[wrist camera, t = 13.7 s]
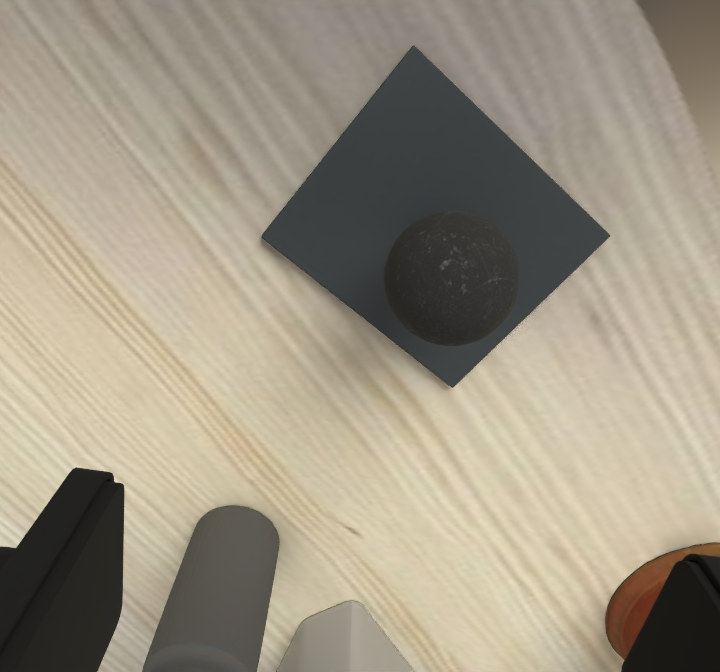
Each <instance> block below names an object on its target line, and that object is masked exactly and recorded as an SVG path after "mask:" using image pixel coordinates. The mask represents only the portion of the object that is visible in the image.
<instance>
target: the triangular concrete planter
mask: <svg viewBox="0 0 720 672" xmlns="http://www.w3.org/2000/svg"><path fill="white" fill-rule="evenodd" d="M277 672H414V671H413V670H412V668H411V667H410V666H409V664H408V663H407V662H406V661H405V659H404V658H403V657H402V655H401V654H400V653H399V651H398V650H397V649H396V648H395V646H394V645H393V644H392V642H391V641H390V640H389V639H388V637H387V636H386V635H385V633H384V632H383V631H382V630H381V628H380V627H379V626H378V624H377V623H376V622H375V621H374V619H373V618H372V617H371V615H370V614H369V613H368V612H367V610H366V609H365V608H364V606H363V605H362V604H360V603H359V602H356V601H348V602H344V603H342V604H339V605H337V606H335V607H332V608H330V609H327V610H325V611H323V612H320V613H318V614H315V615H313V616H311V617H309V618H307V619H305V620H304V621H303V622H302V623H301V624H300V626H299V628H298V630H297V632H296V634H295V636H294V638H293V640H292V642H291V644H290V646H289V648H288V650H287V652H286V654H285V656H284V658H283V660H282V662H281V664H280V666H279V668H278V670H277Z"/></svg>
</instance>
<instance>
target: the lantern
mask: <svg viewBox="0 0 720 672" xmlns="http://www.w3.org/2000/svg"><path fill="white" fill-rule="evenodd" d="M688 554H701V555H708V556H716V557H720V543H709V544H705V545H704V546H703V545H701V544H700V545H694V546H691V547H689V548H684V549H680V550H677V551H673V552H670V553H668V554H665V555H663V556H660V557H658V558H657V559H655V560H654V561H650V562H648V563H646V564H645V565H644V566H642V567H641V568H640V569H638V570H637V571H636V572H634V573H633V574H632V575H631V576H630V577H629V578H627V579H626V580H625V581H624V582H623V584H622V585H621V586H620V587H619V588H618V589H617V591H616V593H615V594H614V596H613V597H612V599H611V601H610V603H609V605H608V610H607V614H606V634H607V637H608V640H609V642H610V643H611V645H612V647H613V649H614V650H615V651H616V652H617V653H618V654H619V655H620V656H621V657H622V658H623V659H624V660H625V659H626V657H627V655H628V653H629V651H630V650H631V648H632V646H633V644H634V642H635V640H636V638H637V636H638V634H639V632H640V630H641V628H642V626H643V624H644V622H645V620H646V618H647V617H648V615H649V613H650V611H651V609H652V607H653V605H654V603H655V601H656V599H657V597H658V595H659V593H660V591H661V589H662V587H663V586H664V584H665V582H666V580H667V578H668V576H669V574H670V572H671V570H672V568H673V566H674V565H675V563H676V562H678V561H682V560H683V559H684V557H685V556H687V555H688Z"/></svg>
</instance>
